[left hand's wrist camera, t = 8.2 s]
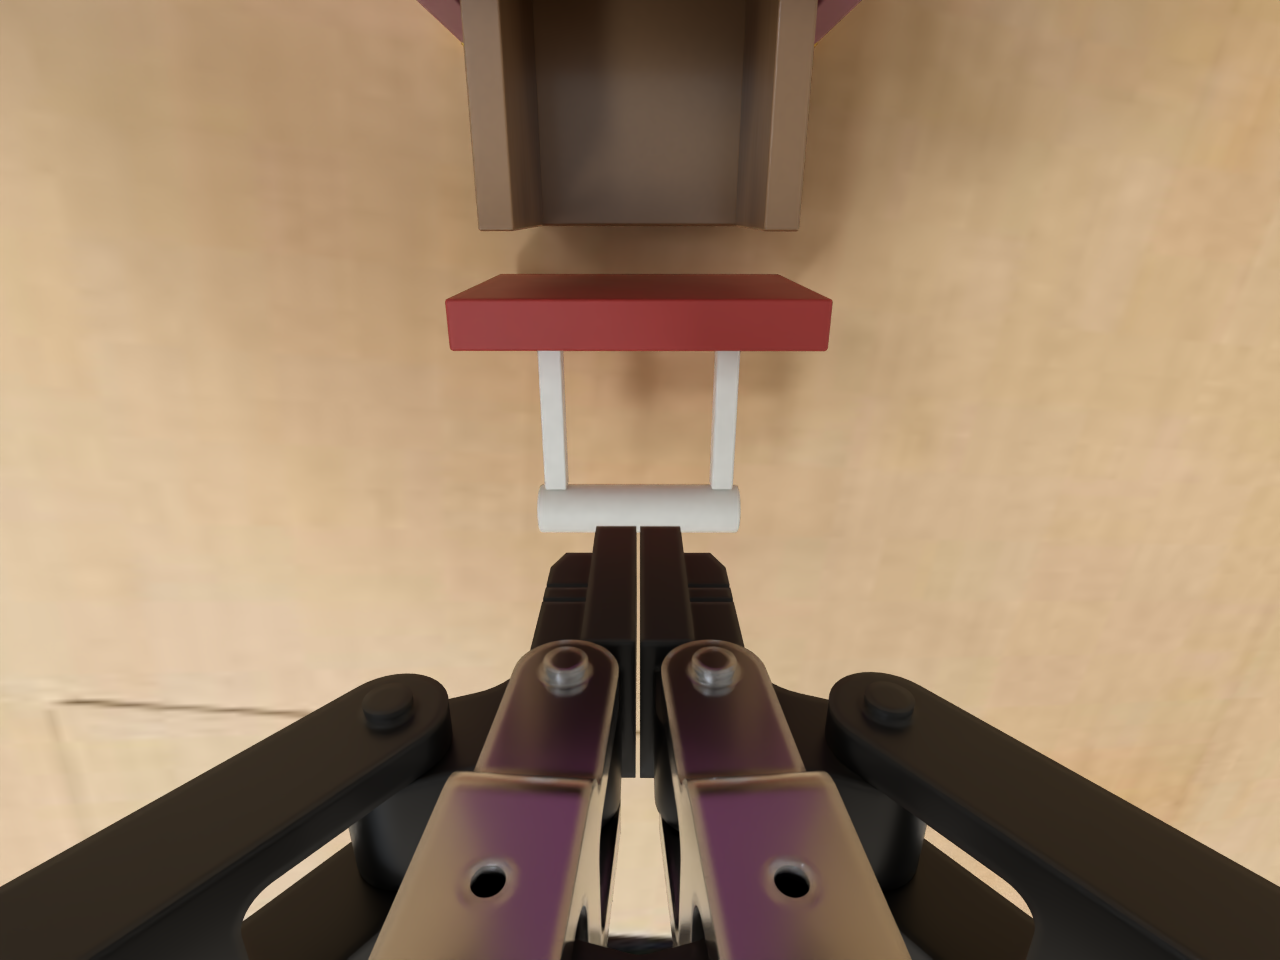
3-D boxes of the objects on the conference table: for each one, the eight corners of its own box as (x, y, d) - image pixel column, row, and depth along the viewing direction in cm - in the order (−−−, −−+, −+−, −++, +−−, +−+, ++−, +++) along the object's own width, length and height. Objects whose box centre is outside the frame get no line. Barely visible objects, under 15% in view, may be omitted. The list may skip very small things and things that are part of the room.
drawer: (765, 471, 24) (806, 558, 18) (513, 470, 24) (470, 558, 18) (831, -413, 16) (947, -794, 10) (448, -413, 16) (331, -794, 10)
